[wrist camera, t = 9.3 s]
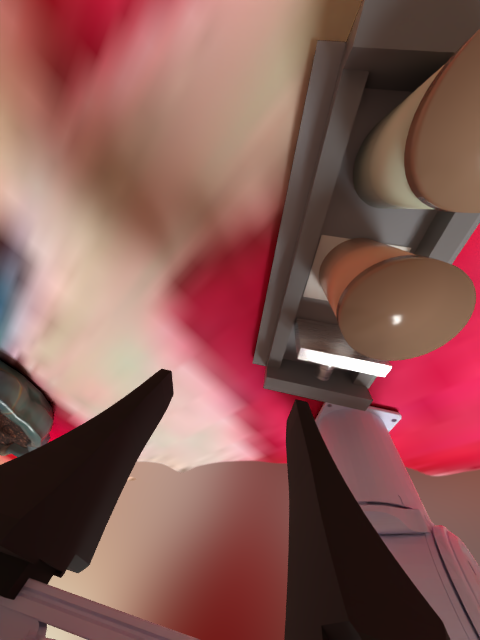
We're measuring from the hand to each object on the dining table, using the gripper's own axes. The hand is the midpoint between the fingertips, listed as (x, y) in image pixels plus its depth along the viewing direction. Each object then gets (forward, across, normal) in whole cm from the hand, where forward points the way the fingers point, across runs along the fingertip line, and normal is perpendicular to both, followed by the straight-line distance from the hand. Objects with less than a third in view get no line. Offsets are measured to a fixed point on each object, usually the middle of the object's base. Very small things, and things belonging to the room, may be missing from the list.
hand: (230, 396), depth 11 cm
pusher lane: (+9, -7, -6) cm, 13 cm away
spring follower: (+8, -7, 0) cm, 11 cm away
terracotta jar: (+8, -7, -6) cm, 13 cm away
